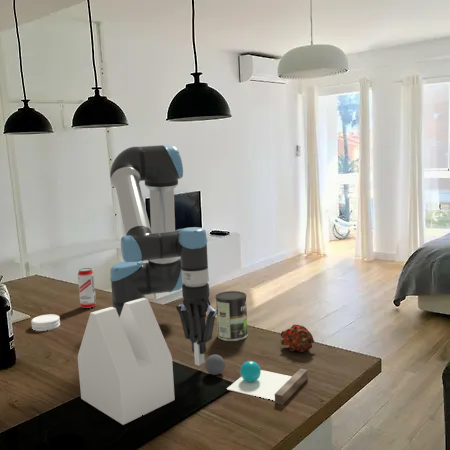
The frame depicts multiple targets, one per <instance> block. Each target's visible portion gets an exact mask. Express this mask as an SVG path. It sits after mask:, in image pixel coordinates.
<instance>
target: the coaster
mask: <svg viewBox="0 0 450 450" xmlns="http://www.w3.org/2000/svg"><path fill="white" fill-rule="evenodd" d="M60 318H61V317H60V315H58V314H54V313H52V314H48V313H47V314H42V315H38V316H36V317H33V318H32V319H31V320H30V323H31V330H32V329H33V330H32V331H34V330H36V331H35V332H48V331H52V330H55V329H58V328H59V327H60V326H61V320H60ZM47 330H48V331H47Z"/></svg>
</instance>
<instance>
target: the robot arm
mask: <svg viewBox="0 0 450 450" xmlns="http://www.w3.org/2000/svg"><path fill="white" fill-rule="evenodd" d="M109 175H110V176H109V177H110V182H111V185H112V187H114V188H115V190H116V194H117V200H118V205H119V209H120V214H121V219H122V225H123V228H124V234H125V235H124V236H122V237H121V239H120V249H121V257H122V260H123V261H120V262H118V263H115V264H114V265H112V266H111V268H110V278H109V281H110V283H111V284H110V285H111V298H112V299H111V300H112V307H114V308H116V310H117V313H118V315H119V318H120V315H121V312H122V309H123V306H124V303H126V302H130V301H133V300H137V299H140V298H146V295H154V294H162V293H172V292H175V291H176V292H178V291H180V290H181V292H182V294H181V295H182V297H183V300H182V303H180V304H178V305H176V307H175V309H176V311H177V312H178V314H179V318H180V322H181V326H182V329H183V334H184V337H185V340H190V343H191V351H192V353H194V354H193V355H194V356H193V357H194V365H196V366H199V367H200V366H201V365H202V364H205V362H206V360H205V353H206V352H207V345H206V344H207V343H208V342H210V341H211V340H212V337H213V332H214V327H215V321H216V317H217V313H218V309H216V308H214V307H212V306H211V302H210V298H209V297H210V284H209V282H210V281H209V280H210V279H209V265H208V263H209V262H208V261H209V259H208V238H207V232H206V230H205V228H204V227H197V226H193V227H185V228H179V229H176V217H175V213H176V212H175V188H176V187H178V185H179V180H180V179H182V178H183V177H184V167H183V160H182V157H181V153H180V152H179V149H178V148H177V147H176V146H174V145H166V144H165V145H164V144H162V145H147V146H145V145H144V146H132V147H130V146H129V147H128V148H126V149H124V150H122V151H121V152H120V153H118V155H117V156H116V157H115V159H114V161H113V162H112V164H111V167H110V172H109ZM141 181H142V182H143V181H144V186H145V187H146V188H147V189H148V190H149V206H150V207H149V209H150V210H149V211H150V219H149V217H148V213H147V210H146V209H147V208H146V205H145V201H144V198H143V193H142V191H141V185H140V182H141ZM145 261H147V262H145Z"/></svg>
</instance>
